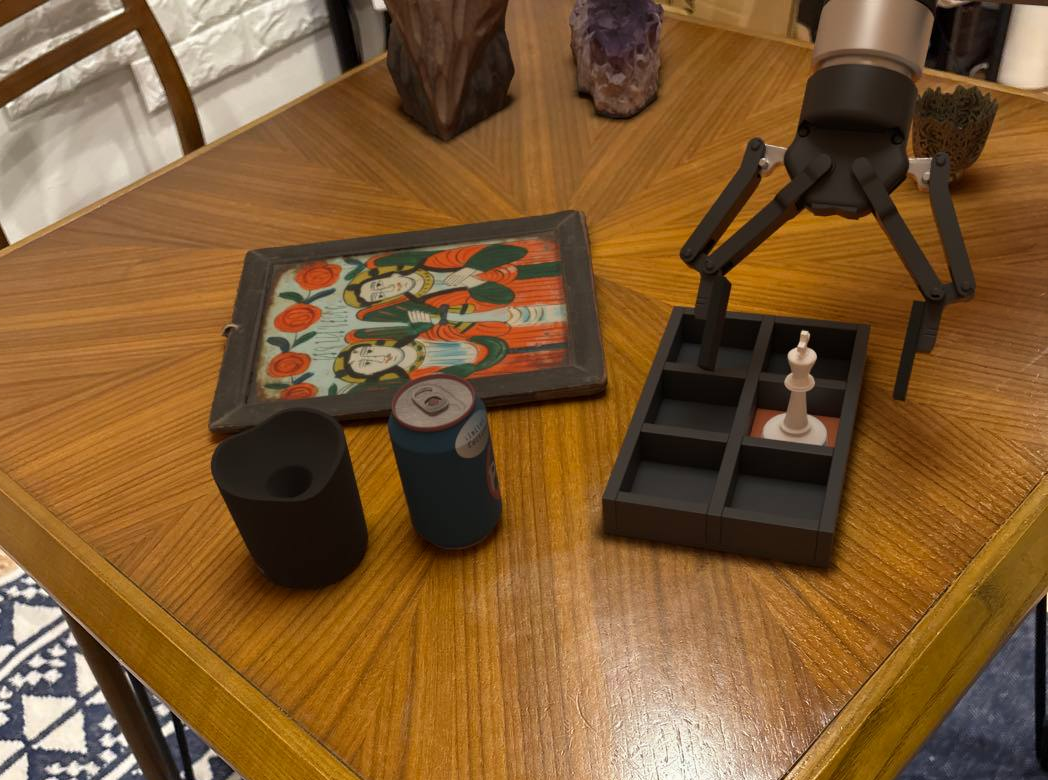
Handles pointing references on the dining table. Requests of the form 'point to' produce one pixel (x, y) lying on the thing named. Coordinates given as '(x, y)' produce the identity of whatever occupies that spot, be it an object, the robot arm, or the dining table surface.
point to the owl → (449, 61)
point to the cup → (953, 126)
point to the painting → (413, 320)
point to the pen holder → (294, 497)
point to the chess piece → (798, 402)
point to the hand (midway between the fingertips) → (799, 384)
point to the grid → (738, 440)
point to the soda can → (445, 460)
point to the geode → (617, 53)
